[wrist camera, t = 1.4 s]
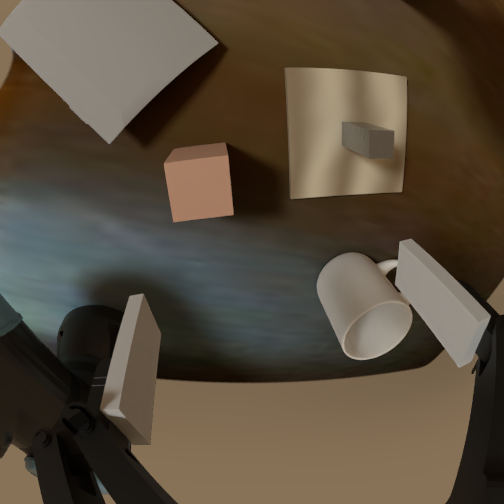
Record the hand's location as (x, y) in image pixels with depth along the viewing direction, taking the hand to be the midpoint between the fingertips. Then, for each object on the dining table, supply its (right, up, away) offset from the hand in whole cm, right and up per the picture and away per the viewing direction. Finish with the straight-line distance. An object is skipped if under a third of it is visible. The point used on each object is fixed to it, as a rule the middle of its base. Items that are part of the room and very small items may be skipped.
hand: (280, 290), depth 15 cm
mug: (+12, -1, +25) cm, 28 cm away
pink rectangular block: (-6, +10, +16) cm, 20 cm away
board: (+9, +15, +15) cm, 23 cm away
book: (-17, +24, +8) cm, 30 cm away
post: (+9, +15, +15) cm, 23 cm away
